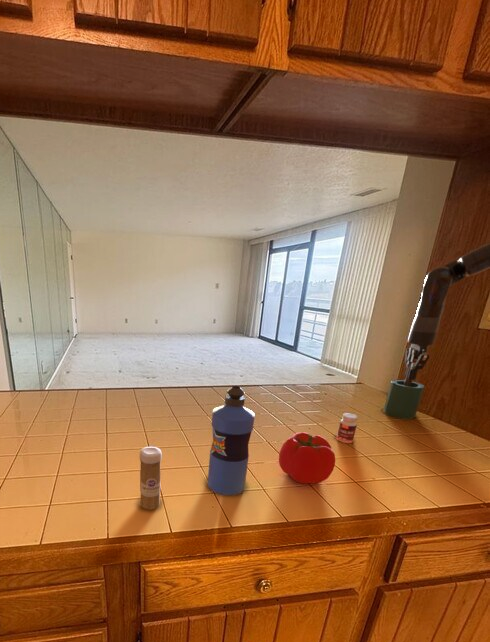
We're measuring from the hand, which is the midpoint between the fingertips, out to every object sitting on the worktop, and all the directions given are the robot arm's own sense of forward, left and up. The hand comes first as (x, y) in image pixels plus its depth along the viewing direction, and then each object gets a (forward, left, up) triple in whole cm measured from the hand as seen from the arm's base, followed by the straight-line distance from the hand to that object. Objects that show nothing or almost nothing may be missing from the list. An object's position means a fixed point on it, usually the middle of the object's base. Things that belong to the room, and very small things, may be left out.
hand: (409, 378), depth 126 cm
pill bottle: (+26, +30, -14) cm, 42 cm away
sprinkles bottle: (+77, +77, -14) cm, 110 cm away
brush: (0, 0, -13) cm, 13 cm away
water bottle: (+61, +65, -14) cm, 90 cm away
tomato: (+42, +56, -14) cm, 71 cm away
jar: (0, 0, -14) cm, 14 cm away
